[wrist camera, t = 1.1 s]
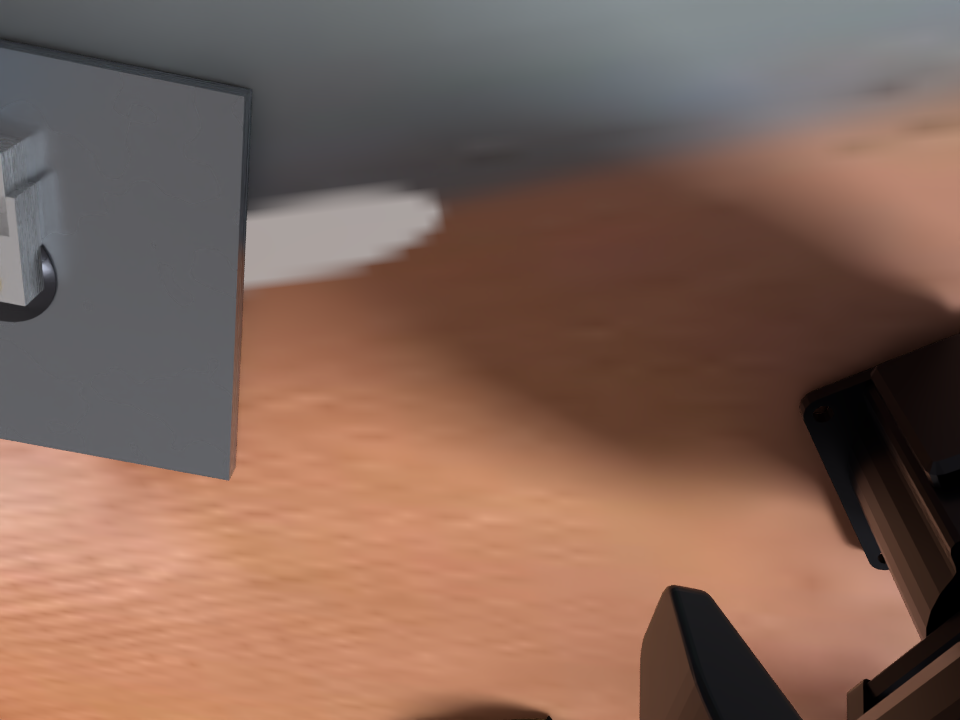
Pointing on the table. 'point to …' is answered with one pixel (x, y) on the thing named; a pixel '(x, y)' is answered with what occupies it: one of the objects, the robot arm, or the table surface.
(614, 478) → the table surface
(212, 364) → the flange plate
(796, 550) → the table surface
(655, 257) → the table surface
